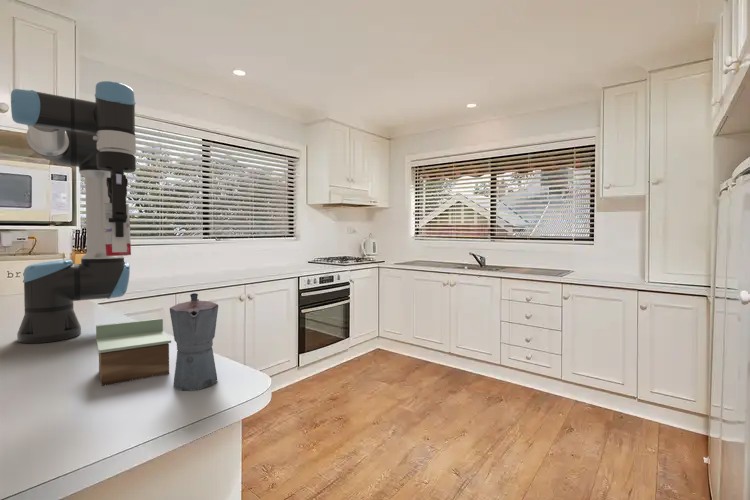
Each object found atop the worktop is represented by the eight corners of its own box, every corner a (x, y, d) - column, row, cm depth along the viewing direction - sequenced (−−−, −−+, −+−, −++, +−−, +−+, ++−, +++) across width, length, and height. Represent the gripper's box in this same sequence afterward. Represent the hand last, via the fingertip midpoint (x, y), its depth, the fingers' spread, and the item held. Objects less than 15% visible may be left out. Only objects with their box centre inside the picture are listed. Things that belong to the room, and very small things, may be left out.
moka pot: (170, 399, 79) (169, 299, 78) (170, 374, 92) (169, 288, 91) (221, 391, 83) (221, 296, 82) (214, 368, 97) (213, 286, 96)
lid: (96, 340, 93) (96, 325, 93) (162, 332, 102) (162, 318, 101) (98, 353, 84) (98, 336, 84) (171, 342, 92) (171, 327, 92)
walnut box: (99, 371, 94) (98, 341, 93) (161, 361, 101) (160, 333, 101) (101, 386, 85) (101, 353, 84) (169, 373, 93) (168, 344, 92)
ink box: (131, 256, 90) (130, 203, 89) (103, 256, 87) (102, 202, 87) (130, 254, 97) (129, 206, 97) (105, 255, 94) (104, 205, 94)
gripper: (95, 158, 98) (97, 250, 98) (97, 141, 80) (99, 253, 81) (131, 162, 102) (132, 250, 103) (140, 146, 85) (142, 252, 85)
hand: (118, 251), depth 92 cm, fingers closed on ink box, 9 cm apart
